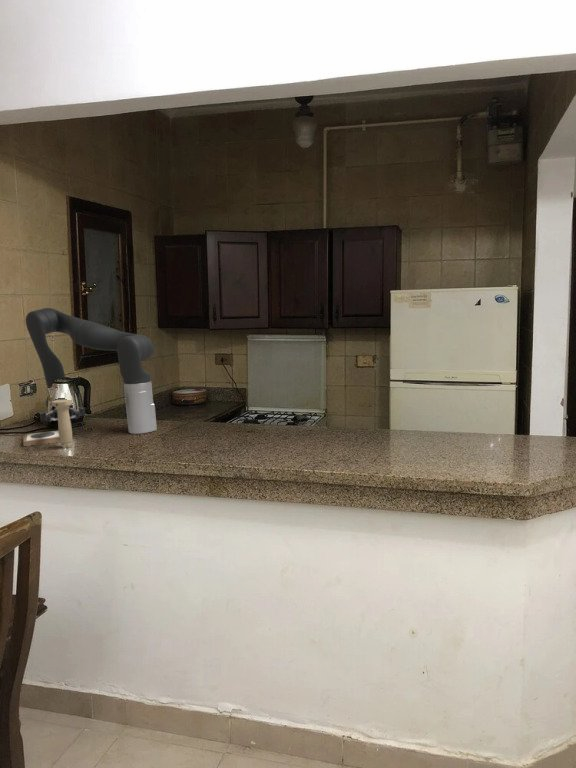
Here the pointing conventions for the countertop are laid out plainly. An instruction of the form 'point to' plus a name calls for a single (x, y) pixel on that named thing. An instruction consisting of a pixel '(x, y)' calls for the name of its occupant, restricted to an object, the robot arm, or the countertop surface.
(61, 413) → the handle
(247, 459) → the countertop surface
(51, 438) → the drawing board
